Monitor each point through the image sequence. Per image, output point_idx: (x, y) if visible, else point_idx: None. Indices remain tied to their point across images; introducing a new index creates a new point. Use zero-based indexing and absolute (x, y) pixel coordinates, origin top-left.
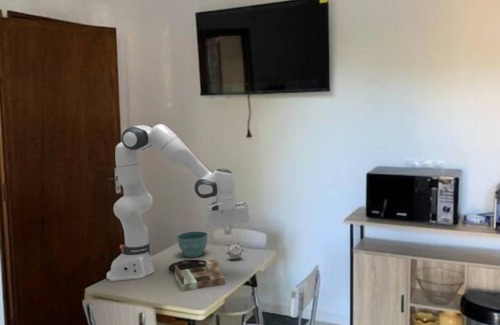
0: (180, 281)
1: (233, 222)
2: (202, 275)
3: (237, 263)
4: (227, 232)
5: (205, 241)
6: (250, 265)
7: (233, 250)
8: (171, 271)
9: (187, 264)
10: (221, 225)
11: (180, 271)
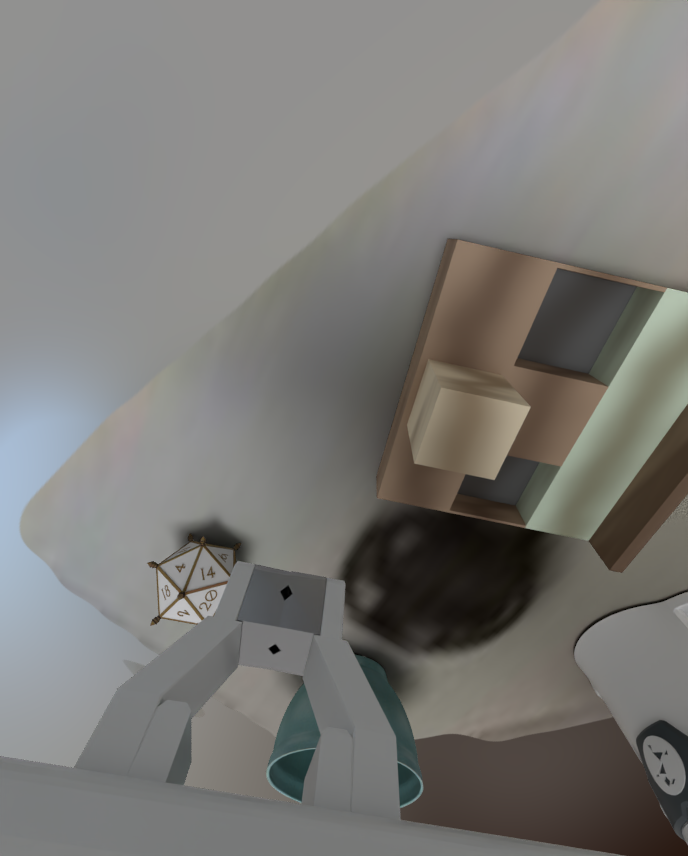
0: None
1: (14, 843)
2: (542, 388)
3: (226, 500)
4: (303, 599)
5: (299, 717)
6: (174, 437)
7: (208, 580)
8: (537, 586)
9: (430, 612)
10: (460, 838)
11: None
